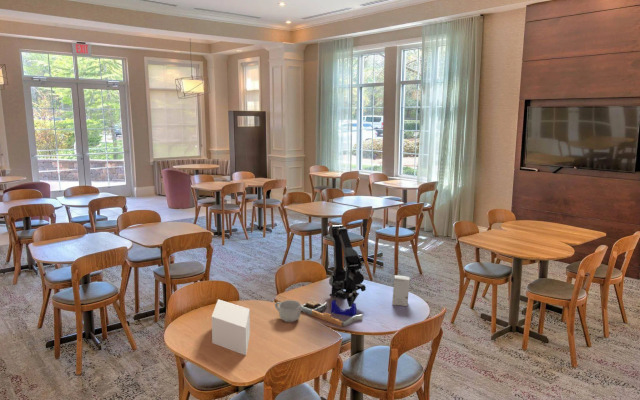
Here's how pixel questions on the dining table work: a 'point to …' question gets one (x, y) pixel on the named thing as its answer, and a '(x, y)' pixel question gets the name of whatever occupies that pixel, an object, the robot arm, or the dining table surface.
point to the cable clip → (348, 312)
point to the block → (231, 326)
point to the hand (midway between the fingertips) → (350, 306)
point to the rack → (315, 308)
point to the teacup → (289, 310)
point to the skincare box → (400, 290)
